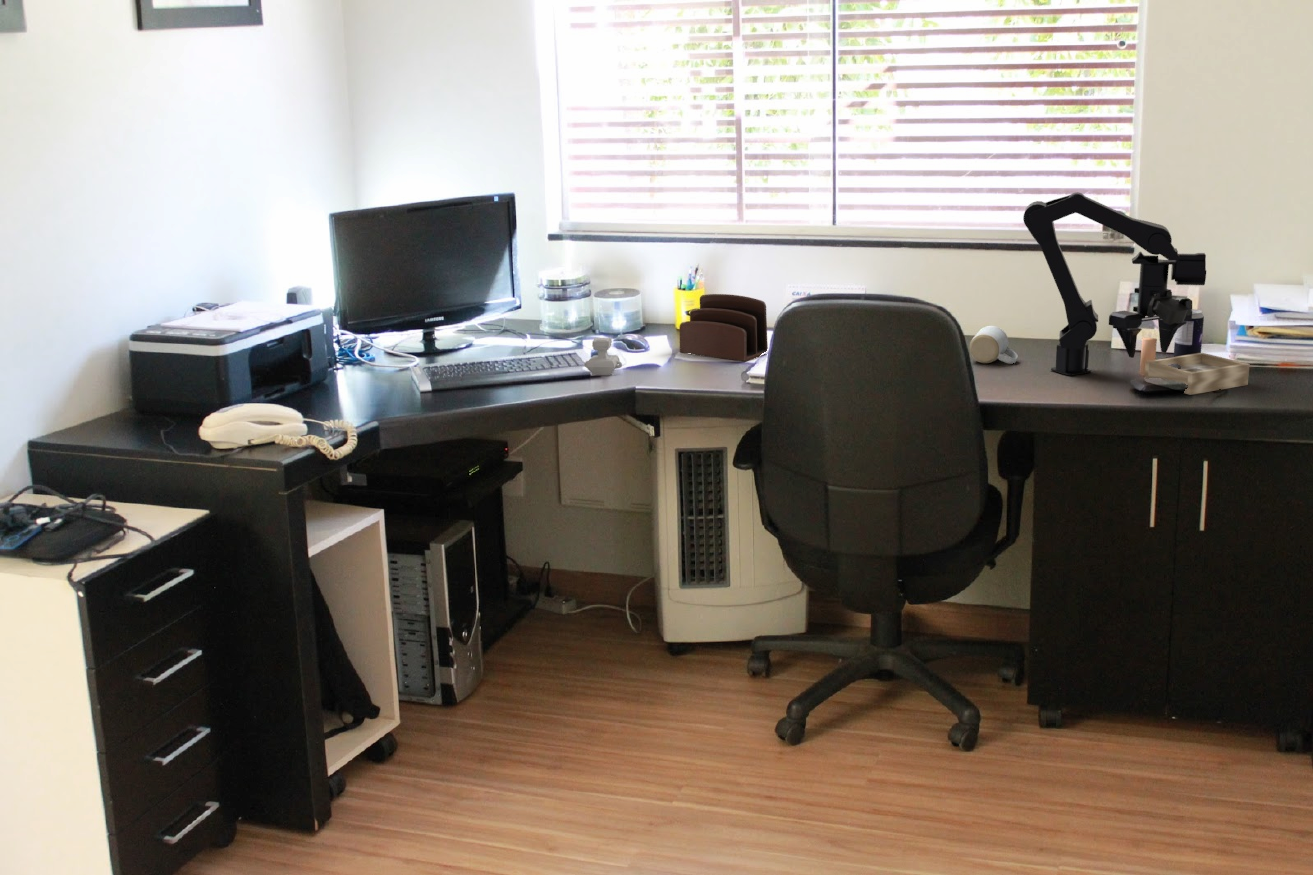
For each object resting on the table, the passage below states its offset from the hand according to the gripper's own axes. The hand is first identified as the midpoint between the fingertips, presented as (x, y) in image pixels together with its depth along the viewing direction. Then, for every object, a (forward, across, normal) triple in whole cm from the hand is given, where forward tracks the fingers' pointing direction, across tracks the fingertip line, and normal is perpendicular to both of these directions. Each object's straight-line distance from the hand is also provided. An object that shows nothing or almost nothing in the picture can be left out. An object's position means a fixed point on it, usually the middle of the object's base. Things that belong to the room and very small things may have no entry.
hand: (1147, 354), depth 289 cm
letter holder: (+5, -69, +69) cm, 98 cm away
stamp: (+5, -103, +64) cm, 121 cm away
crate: (+4, +3, -11) cm, 12 cm away
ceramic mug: (+5, -20, +28) cm, 34 cm away
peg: (+4, 0, 0) cm, 5 cm away
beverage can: (+5, +15, +3) cm, 16 cm away
